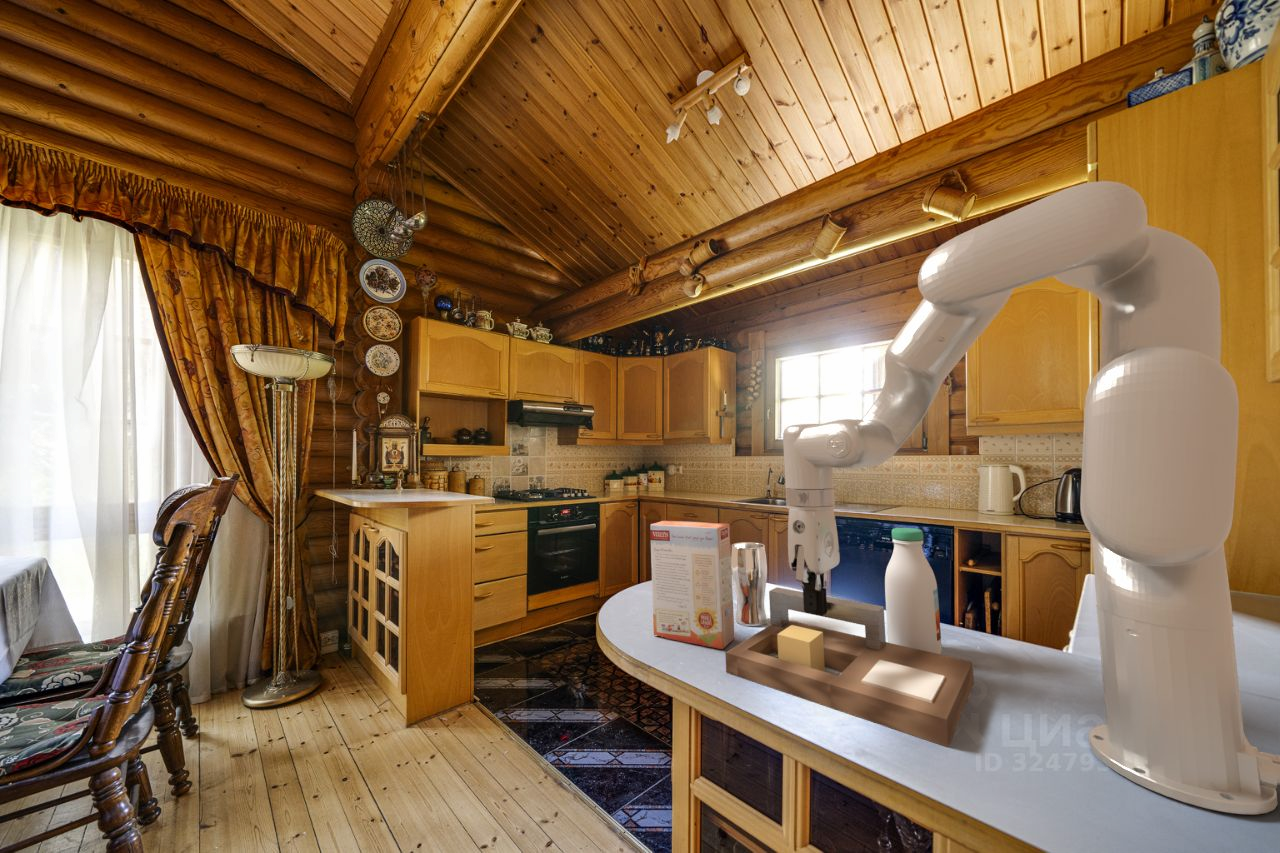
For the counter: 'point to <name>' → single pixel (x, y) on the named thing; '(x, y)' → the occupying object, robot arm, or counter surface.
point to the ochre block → (802, 647)
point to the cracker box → (692, 582)
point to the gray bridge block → (832, 613)
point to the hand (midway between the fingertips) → (815, 612)
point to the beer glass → (749, 582)
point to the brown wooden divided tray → (866, 680)
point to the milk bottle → (911, 595)
